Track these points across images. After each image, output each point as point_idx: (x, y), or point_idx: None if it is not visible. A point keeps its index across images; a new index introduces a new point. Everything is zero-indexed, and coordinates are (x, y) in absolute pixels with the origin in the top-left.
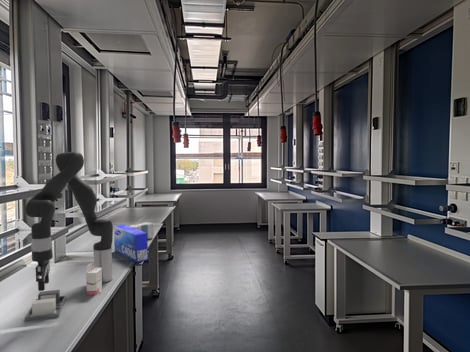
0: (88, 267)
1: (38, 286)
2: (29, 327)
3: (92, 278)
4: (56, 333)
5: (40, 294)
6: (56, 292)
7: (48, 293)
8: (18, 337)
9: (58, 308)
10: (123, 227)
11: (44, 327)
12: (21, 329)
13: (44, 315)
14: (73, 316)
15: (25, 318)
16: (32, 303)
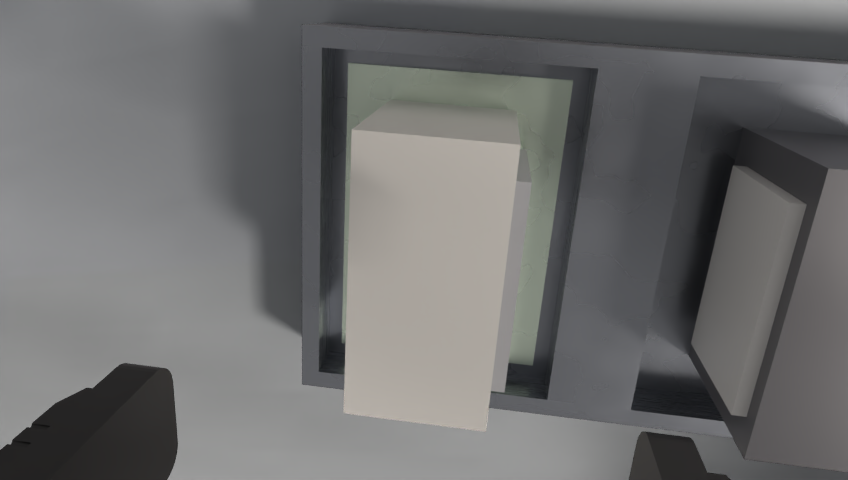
0: None
1: (64, 423)
2: (226, 87)
3: None
4: (34, 336)
5: (835, 208)
6: (775, 437)
7: (801, 330)
8: (13, 15)
9: (547, 360)
10: None
11: (183, 233)
12: (198, 8)
13: (304, 248)
14: (356, 461)
15: (304, 33)
16: (378, 135)
